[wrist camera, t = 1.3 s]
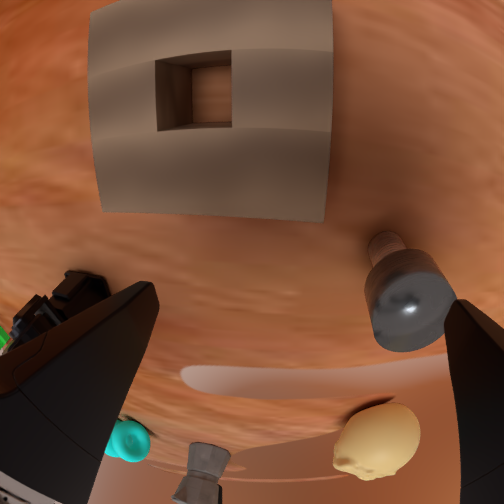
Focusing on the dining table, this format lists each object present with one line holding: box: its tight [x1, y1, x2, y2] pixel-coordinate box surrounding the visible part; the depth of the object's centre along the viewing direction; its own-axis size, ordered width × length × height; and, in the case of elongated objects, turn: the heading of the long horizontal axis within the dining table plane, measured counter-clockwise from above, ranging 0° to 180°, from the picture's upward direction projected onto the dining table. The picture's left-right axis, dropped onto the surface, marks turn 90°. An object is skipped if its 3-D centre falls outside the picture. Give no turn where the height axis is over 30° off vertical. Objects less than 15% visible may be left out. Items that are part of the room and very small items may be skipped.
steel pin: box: [364, 231, 457, 352], centre depth 17 cm, size 5×5×8 cm
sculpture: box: [333, 403, 420, 481], centre depth 29 cm, size 12×12×11 cm
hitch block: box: [88, 0, 333, 223], centre depth 15 cm, size 14×14×6 cm
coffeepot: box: [171, 442, 231, 504], centre depth 42 cm, size 15×9×18 cm, turn 30°
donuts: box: [104, 420, 150, 462], centre depth 46 cm, size 10×10×10 cm
